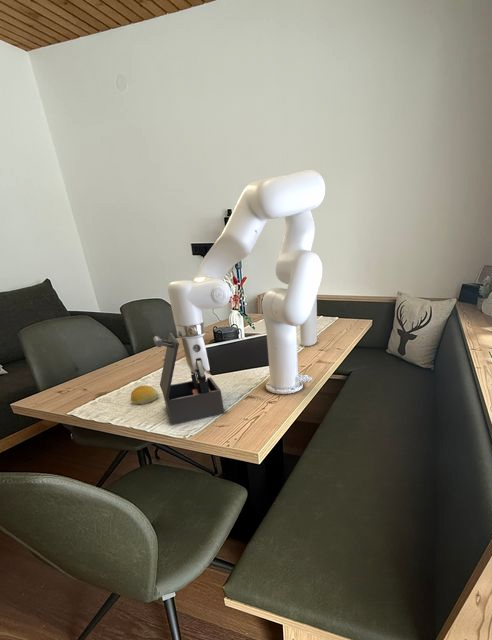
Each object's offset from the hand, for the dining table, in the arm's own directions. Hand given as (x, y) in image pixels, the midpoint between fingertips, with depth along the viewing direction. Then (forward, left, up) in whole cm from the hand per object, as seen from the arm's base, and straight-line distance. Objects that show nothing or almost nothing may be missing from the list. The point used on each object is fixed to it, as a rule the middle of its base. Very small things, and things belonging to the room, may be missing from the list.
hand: (201, 390), depth 106 cm
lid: (+7, +3, +9) cm, 11 cm away
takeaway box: (+3, +1, -6) cm, 7 cm away
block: (0, 0, -5) cm, 5 cm away
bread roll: (+22, -9, -6) cm, 24 cm away
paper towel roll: (-34, -65, -6) cm, 74 cm away
